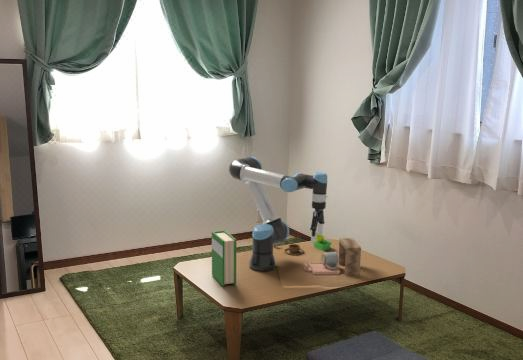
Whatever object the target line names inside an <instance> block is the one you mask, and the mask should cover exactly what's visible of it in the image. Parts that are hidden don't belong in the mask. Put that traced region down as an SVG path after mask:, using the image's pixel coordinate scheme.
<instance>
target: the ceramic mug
mask: <svg viewBox="0 0 523 360" xmlns="http://www.w3.org/2000/svg"><path fill="white" fill-rule="evenodd" d="M338 258H339V254H338V253H337V252H336V251H331V252H324V253H322V254H321V255H320V263H322V265H324V266H327V268H328V269H331V270H334V269H336V267H338V266H339V265H338ZM329 266H336V267H334V268H332V267H329Z"/></svg>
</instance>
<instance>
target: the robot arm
mask: <svg viewBox="0 0 523 360" xmlns="http://www.w3.org/2000/svg"><path fill="white" fill-rule="evenodd" d="M228 173H229V174H230V176H231V177H232V178H233V179H236V180H239V181H242V182H243V183H244V184H246V185H247V186H248V189H249V192H250V193H251V196H252V199H253V201H254V203H255V205H256V208H257V209H258V212H259V215H260V216H261V219H262V224H258V225H256V226H254V227H253V229H252V235H251V236H252V253H251V257H250V260H249V263H248V264H249V265H248V267H249V269H251V270H254V271H260V272H267V271H268V272H269V271H273V270H274V269H276V266H277V264H276V263H277V262H276V259H275V255H274V245H275V246H276V245H278V244H281V243H283V242H284V241H286V240H287V239H288V238H289V236H290V228H289V227H290V226H289V224H287V223H286V222H285V221H282V218H281V217H280V216H278V215H277V214H276V213H277V212H276V211H275V209H274V206H273V204H272V201H271V199H270V197H269V194H268V192H267V190H266V188H265V186H269V187H274V188H278V189H281V190H283V191H284V193H285V192H286V193H293V192H296V191H299V190H302V189H308V190H312V194H311V195H312V197H311V200H312V201H311V208H312V209H314V211H313V212H312V219H311V225H310V229H309V231H311V237H310V242H312V243H313V242H316V236H317V235H323V229H324V227H323V226H324V225H325V222H326V221H325V216H324V210H325V209H326V207H327V206H326V205H327V202H326V201H327V198H328V195H327V189H328V174H327V173H326V172H319V171H317V172H314V173H313V175H311V174H305V173H300V172H299V173H295V174H294V175H293V176H289V175H285V174H281V173H277V172H272V171H268V170H264V169H263V165H262V163H261V161H260V160H259V159H258V158H257V157H254V156H247V157H244V158H243V157H242V158H237V159H234V160H233V161H231V163H230V165H229V167H228Z"/></svg>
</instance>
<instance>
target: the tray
mask: <svg viewBox="0 0 523 360" xmlns="http://www.w3.org/2000/svg"><path fill="white" fill-rule="evenodd" d="M329 267H332V268H334V267H336V266H329ZM303 268H304V271H305V272H312V274H313V275H341V270H340V269H339V267H338V266H337V267H336V269H334V270H331V269H328V268H327V266H324V265H322V263H321V262H308V263H306V262H304V263H303Z"/></svg>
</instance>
